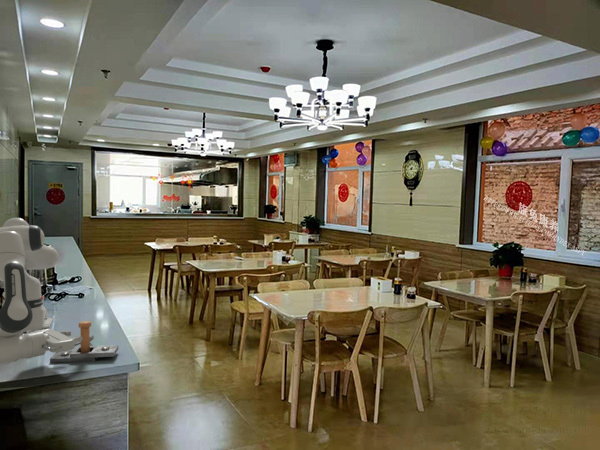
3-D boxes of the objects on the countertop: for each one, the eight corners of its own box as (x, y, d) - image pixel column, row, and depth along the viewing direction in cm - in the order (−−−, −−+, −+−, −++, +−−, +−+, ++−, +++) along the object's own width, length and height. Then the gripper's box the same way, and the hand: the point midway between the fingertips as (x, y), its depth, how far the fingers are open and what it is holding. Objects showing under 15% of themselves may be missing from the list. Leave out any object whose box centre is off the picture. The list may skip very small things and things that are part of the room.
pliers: (66, 351, 182) (70, 336, 200) (66, 353, 182) (70, 338, 200) (92, 349, 186) (93, 334, 204) (92, 351, 186) (93, 336, 204)
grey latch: (57, 355, 179) (57, 345, 178) (118, 352, 183) (118, 343, 183) (49, 363, 170) (49, 353, 170) (114, 360, 175) (114, 350, 175)
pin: (79, 356, 178) (79, 321, 177) (91, 355, 180) (91, 320, 179) (78, 360, 174) (78, 324, 173) (91, 358, 175) (90, 323, 175)
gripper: (49, 341, 156) (88, 333, 166) (25, 329, 168) (64, 322, 179) (49, 359, 156) (88, 350, 167) (25, 346, 169) (63, 338, 179)
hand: (75, 335), depth 173 cm, fingers open, 8 cm apart
